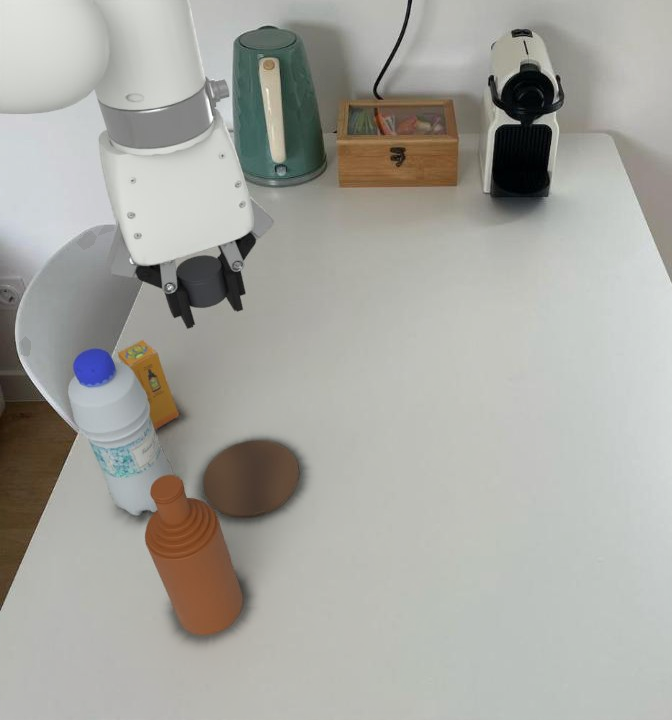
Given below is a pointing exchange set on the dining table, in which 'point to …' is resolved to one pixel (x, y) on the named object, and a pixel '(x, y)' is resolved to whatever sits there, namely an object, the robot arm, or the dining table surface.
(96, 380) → the bottle
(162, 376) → the supplement box
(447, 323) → the dining table surface
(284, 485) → the coaster
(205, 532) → the sauce bottle
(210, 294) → the cap
